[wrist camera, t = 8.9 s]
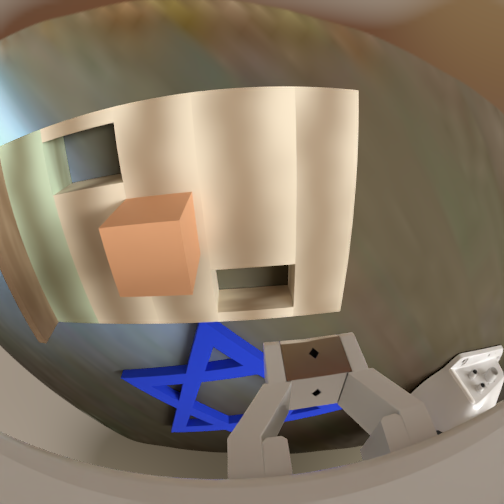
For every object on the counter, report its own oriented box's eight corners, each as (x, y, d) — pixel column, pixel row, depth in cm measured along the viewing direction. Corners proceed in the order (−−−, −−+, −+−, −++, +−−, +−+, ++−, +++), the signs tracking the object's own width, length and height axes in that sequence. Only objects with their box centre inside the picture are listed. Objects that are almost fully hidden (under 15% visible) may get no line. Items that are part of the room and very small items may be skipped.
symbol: (345, 288, 24) (341, 428, 39) (339, 277, 26) (339, 419, 40) (87, 334, 26) (189, 448, 41) (92, 323, 27) (190, 440, 42)
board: (342, 90, 17) (380, 90, 12) (330, 289, 26) (350, 336, 21) (12, 142, 17) (-33, 161, 12) (63, 302, 25) (39, 342, 20)
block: (191, 191, 18) (179, 220, 14) (200, 254, 20) (192, 294, 16) (125, 198, 18) (98, 228, 14) (139, 258, 20) (120, 297, 16)
